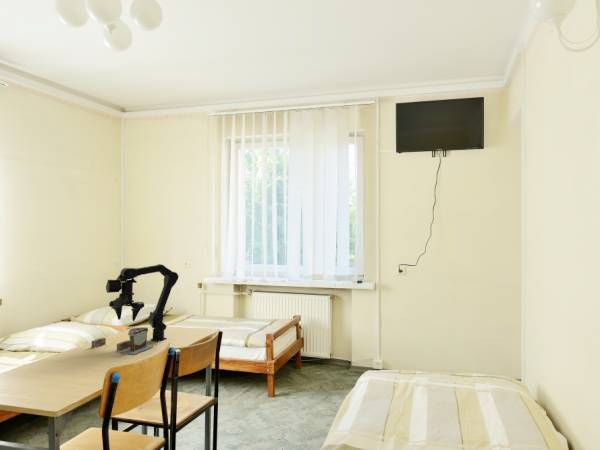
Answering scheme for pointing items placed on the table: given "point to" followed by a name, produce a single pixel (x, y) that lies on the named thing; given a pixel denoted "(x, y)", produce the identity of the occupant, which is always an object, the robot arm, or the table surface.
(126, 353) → the mat
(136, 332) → the food container
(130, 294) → the robot arm
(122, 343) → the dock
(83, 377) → the table surface
